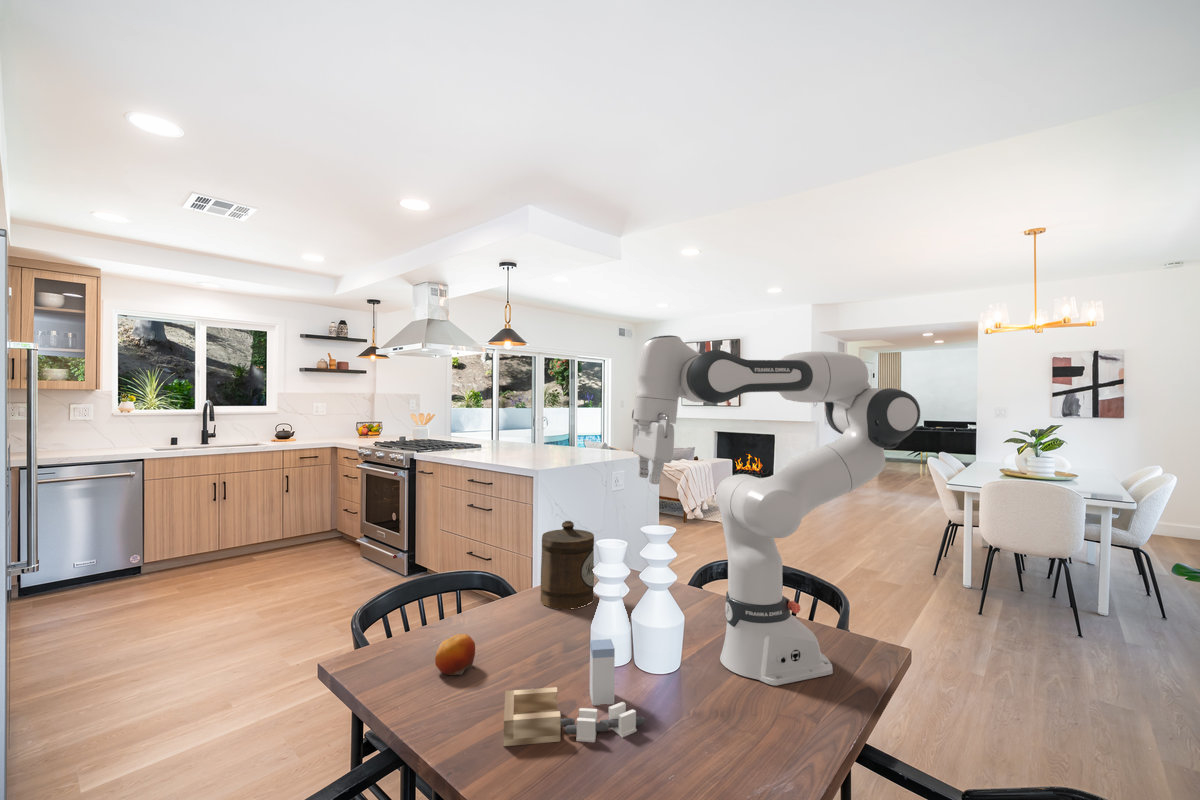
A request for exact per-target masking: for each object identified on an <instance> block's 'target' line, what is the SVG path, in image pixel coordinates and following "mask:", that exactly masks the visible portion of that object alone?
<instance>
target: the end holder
mask: <svg viewBox="0 0 1200 800" xmlns="http://www.w3.org/2000/svg"><path fill="white" fill-rule="evenodd" d="M504 692H505V694H504V710H503V711H504V712H503V747H511V746H520V745H521V746H522V745H523V746H524V745H532V744H545V743H554V742H555V743H556V742H561V727H560V721H561V719H562V718H561V717H562V716H561V711H560V710H558V687H556V686H555V687H542V688H540V687H539V688H529V689H527V688H526V689H514V690H505V691H504Z"/></svg>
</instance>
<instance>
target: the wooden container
mask: <svg viewBox="0 0 1200 800" xmlns="http://www.w3.org/2000/svg"><path fill="white" fill-rule="evenodd" d="M561 527H562V529H555V530H554V529H553V530H548V531H546V532H544V533H542V536H541V557H540V558H541V560H540V561H541V562H540V602H542V603H543V604H544V606H545V605H546V606H545V607H547V606H549V607H548V608H550V607H552V608H551V609H554V608H558V609H557V610H561V609H571V608H578V607H581V606H584V605H587V604H588V603H590V602H592V601H593V602H594V599H593V598H594V593H593V587H595V572H594V573H593V571H592V569H593V568H594V569H595V563H594V562H595V559H594V558H595V556H594V554H595V552H594V551H595V550H594V547H595V534H594V533H593V532H592V531H588V530H583V529H576V528H574V527H575V524H574V522H573V521H571V520H565V521H563V522H562V524H561ZM593 602H592V603H593ZM542 603H541V604H542ZM543 604H542V605H543ZM578 609H579V608H578ZM571 610H572V609H571Z"/></svg>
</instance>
